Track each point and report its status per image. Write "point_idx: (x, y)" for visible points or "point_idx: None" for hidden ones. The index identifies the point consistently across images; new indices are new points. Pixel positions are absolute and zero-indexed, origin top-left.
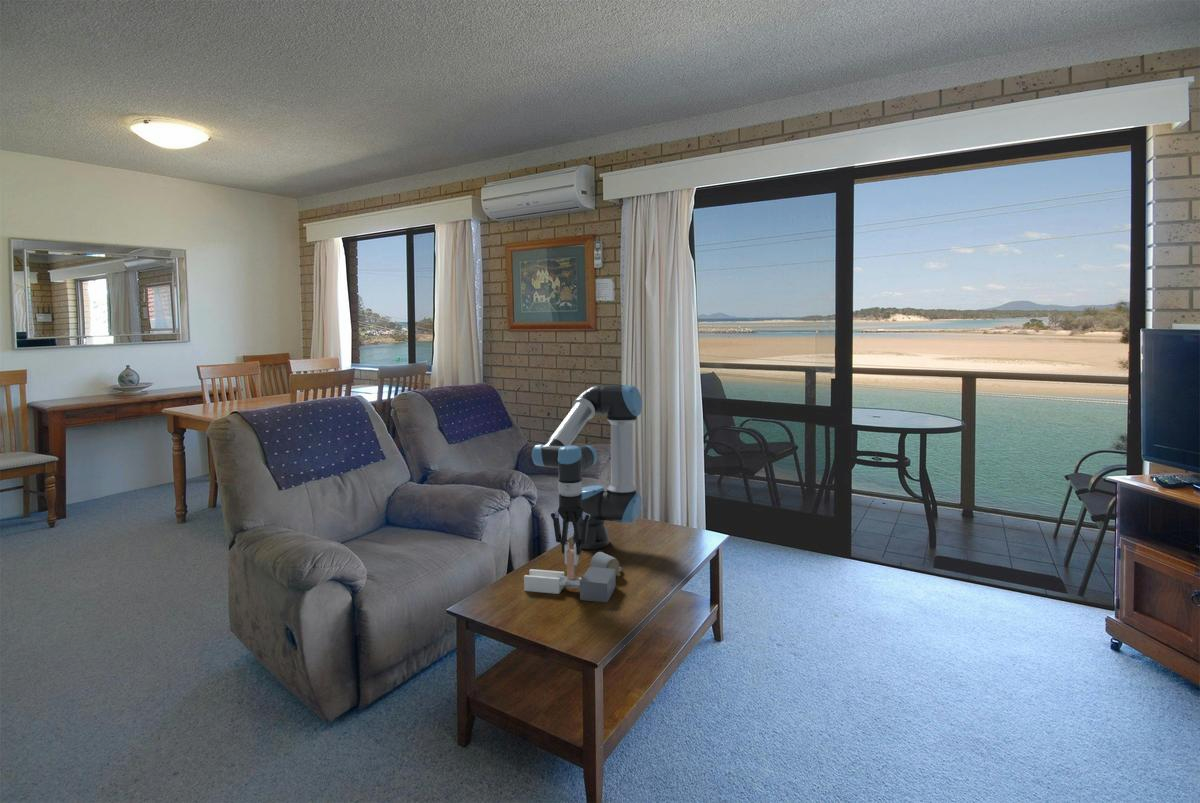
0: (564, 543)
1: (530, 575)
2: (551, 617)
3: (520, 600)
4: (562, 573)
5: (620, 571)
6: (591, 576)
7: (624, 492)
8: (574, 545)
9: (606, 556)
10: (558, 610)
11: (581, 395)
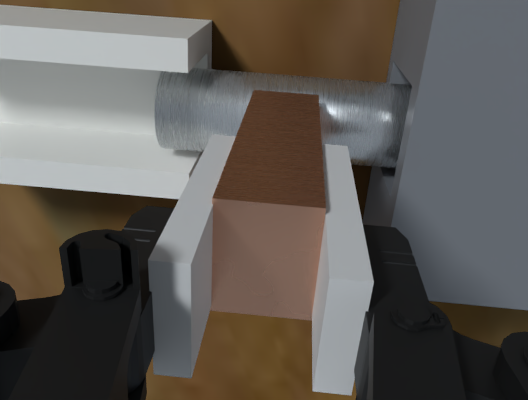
0: (144, 391)
1: None
2: (251, 394)
3: (26, 255)
4: (181, 72)
5: None
6: (472, 205)
7: None
8: (324, 379)
9: None
10: (266, 337)
11: None
